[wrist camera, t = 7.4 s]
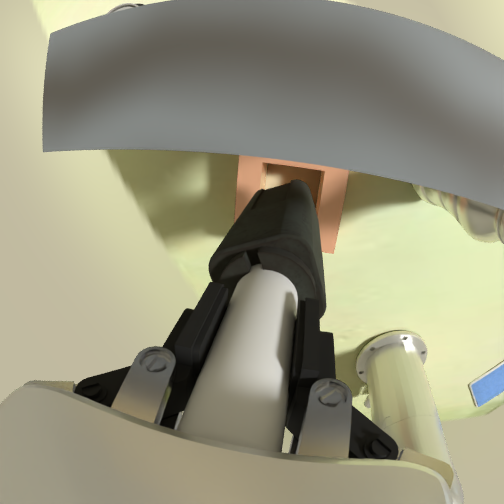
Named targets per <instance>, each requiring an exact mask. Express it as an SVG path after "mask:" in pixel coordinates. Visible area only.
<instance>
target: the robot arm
mask: <svg viewBox="0 0 504 504" xmlns="http://www.w3.org/2000/svg"><path fill="white" fill-rule="evenodd" d="M227 304H228V288H224V284H220V283H215V282H210V283H209V285H208V286H207V288H206V290H205V292H204V293H203V295H202V297H201V299H200V300H199V302H198V304H197V306H196V307H195V309H194V310H192V309H188V308H187V309H185V310H184V312H183V313H182V315H181V317H180V318H179V320H178V322H177V323H176V325H175V327H174V328H173V330H172V332H171V333H170V335H169V337H168V338H167V340H166V342H165V343H164V345H163V347H157V346H154V347H149V348H146V349H144V350H142V351H141V352H139V354H138V355H137V356H136V358H135V360H134V362H133V364H132V366H128V367H125V368H122V369H118V370H114V371H111V372H107V373H104V374H100V375H97V376H93V377H89V378H86V379H84V380H82V381H81V382H79V383H78V384H75V383H74V381H72V382H71V381H37V380H36V381H35V380H34V381H29V382H27V383H26V384H24V385H23V386H22V387H20V388H18V389H16V390H15V391H13V392H12V393H11V394H10V395H9V396H8V397H7V398H6V399H5V400H4V401H3V402H2V403H1V404H0V504H464V498H463V497H464V496H463V490H462V487H461V483H460V481H459V478H458V476H457V473H456V471H455V468H454V466H453V463H452V460H451V457H450V454H449V451H448V448H447V444H446V441H445V437H444V434H443V430H442V426H441V422H440V418H439V415H438V411H437V408H436V404H435V401H434V397H433V394H432V391H431V387H430V384H429V381H428V378H427V375H426V372H425V369H424V366H423V365H424V363H425V361H426V358H427V347H426V344H425V342H424V340H423V339H422V338H421V337H420V336H419V335H417V334H416V333H413V332H410V331H393V332H389V333H386V334H383V335H381V336H379V337H376V338H375V339H373V340H372V341H370V342H369V343H368V344H367V345H366V346H364V348H363V349H362V350H361V351H360V353H359V355H358V357H357V360H356V371H357V374H358V377H359V378H360V379H361V380H362V381H363V382H365V383H366V384H368V391H369V392H368V393H369V395H368V396H367V398H366V400H365V402H364V405H365V407H367V408H371V416H372V421H371V420H369V419H368V418H367V417H366V416H364V415H363V414H362V413H361V412H360V411H358V410H357V409H356V408H355V407H353V406H352V393H351V390H350V389H349V387H348V386H347V385H346V384H345V383H343V382H341V381H340V380H337V379H336V375H335V355H334V339H333V333H330V332H322V331H320V320H319V299H314V298H307V297H306V298H305V301H303V300H300V302H299V306H298V311H297V316H296V322H295V333H294V344H293V354H292V364H291V373H290V382H289V398H288V406H287V415H286V423H285V427H286V428H287V429H288V430H289V431H290V432H291V433H292V434H293V436H292V440H291V444H290V449H289V453H281V452H274V451H267V450H261V449H255V448H249V447H244V446H239V445H233V444H229V443H224V442H219V441H215V440H211V439H207V438H203V437H199V436H195V435H191V434H187V433H184V432H180V431H177V430H176V429H177V427H178V425H179V422H180V420H181V417H182V411H184V410H185V408H186V405H187V403H188V401H189V398H190V396H191V393H192V391H193V389H194V386H195V384H196V381H197V379H198V377H199V374H200V372H201V369H202V367H203V365H204V362H205V360H206V357H207V355H208V353H209V350H210V348H211V346H212V343H213V341H214V338H215V336H216V334H217V331H218V329H219V326H220V324H221V322H222V319H223V317H224V314H225V312H226V310H227Z"/></svg>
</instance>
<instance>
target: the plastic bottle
mask: <svg viewBox="0 0 504 504" xmlns="http://www.w3.org/2000/svg"><path fill="white" fill-rule="evenodd" d="M412 185H413V188H414V189H415V191H416V193H417V194H418V196H419V197H420V198H421V199H422V200H424V201H425V202H427V203H430V204H433V205H437V206H440V207H442V208H444V209H446V210H447V211H448V212H449V213H450V214H452V215H453V216H454V217H455V218H456V220H457V221H458V222H459V223H460V225H461V226H462V227H463V229H464V230H465V231H466V232H467V233H468V234H469V235H470V236H471V237H472V238H473V239H475V240H478V241H481V242H487V243H492V242H496V241H501V242H502V243H503V244H504V210H502V209H499V208H496V207H493V206H490V205H487V204H484V203H481V202H478V201H474V200H471V199H468V198H464V197H461V196H458V195H454V194H451V193H447V192H443V191H440V190H436V189H432V188H428V187H424V186H420V185H416V184H412Z"/></svg>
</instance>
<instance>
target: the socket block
mask: <svg viewBox="0 0 504 504" xmlns="http://www.w3.org/2000/svg"><path fill="white" fill-rule="evenodd" d="M268 163H272V164H279V165H287V166H294V167H301V168H308V169H315V170H321V177H320V184H319V191H318V197H317V204H316V213H317V216H318V221H319V229H320V238H321V248H322V252H325V253H332V254H334V249H335V245H336V240H337V235H338V230H339V225H340V220H341V215H342V209H343V204H344V198H345V193H346V187H347V181H348V175H349V170H345V169H339V168H333V167H327V166H321V165H315V164H308V163H301V162H294V161H287V160H279V159H271V158H263V157H254V156H244V155H239V164H238V176H237V190H236V203H235V217H234V223H235V222H236V220H237V219H238V217H239V216H240V214H241V213H242V211H243V210H244V209H245V207H246V206H247V204H248V203H249V201H250V200H251V198H252V197H253V196H254V194H255V193H256V192H257V191H258V190H260V189H264V190H265V183H266V174H267V164H268Z"/></svg>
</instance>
